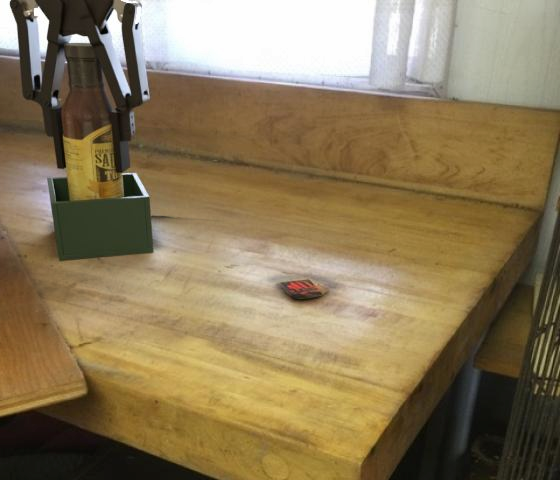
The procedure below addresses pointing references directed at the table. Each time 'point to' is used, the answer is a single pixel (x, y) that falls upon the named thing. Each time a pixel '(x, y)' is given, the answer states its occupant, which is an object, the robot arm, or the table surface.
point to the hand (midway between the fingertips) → (94, 167)
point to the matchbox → (303, 288)
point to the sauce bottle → (88, 128)
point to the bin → (101, 221)
